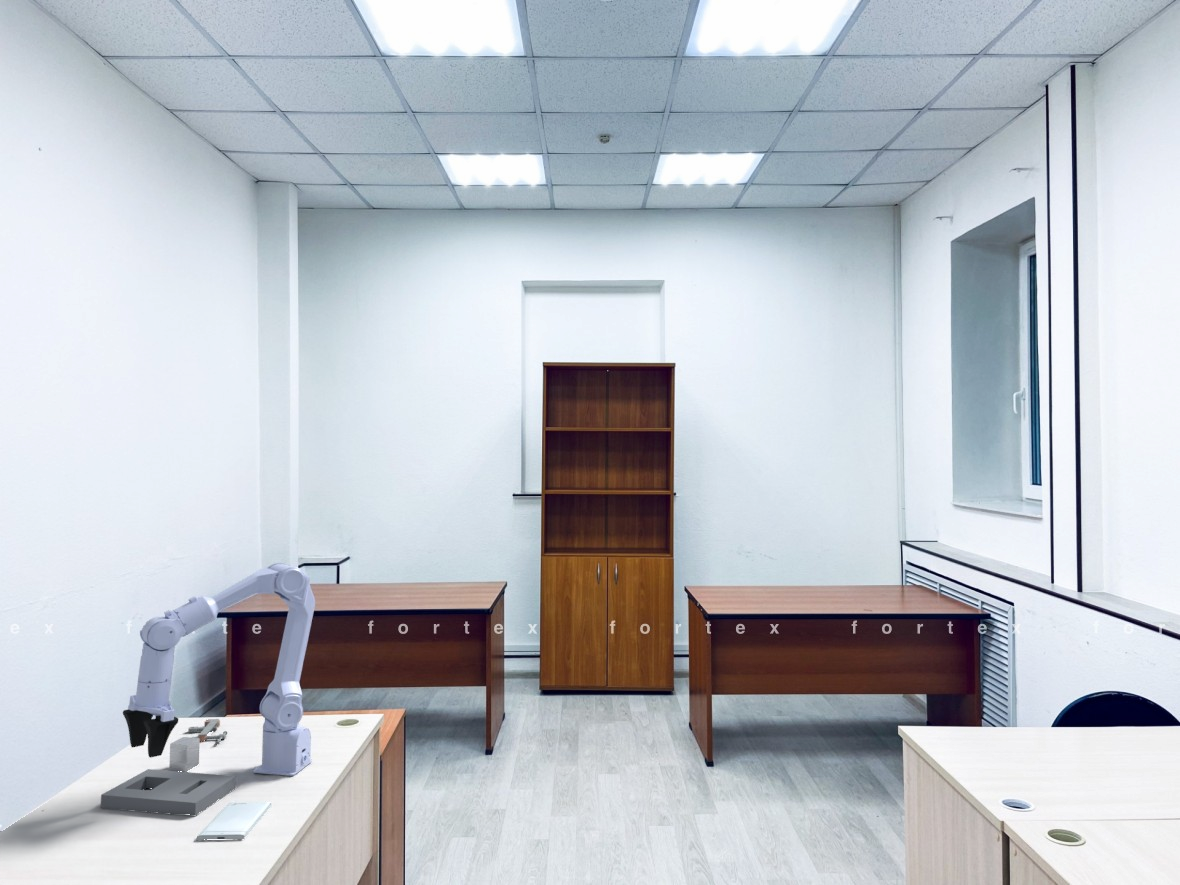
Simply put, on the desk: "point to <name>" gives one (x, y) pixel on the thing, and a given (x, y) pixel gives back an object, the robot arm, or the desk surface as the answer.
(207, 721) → the clamp
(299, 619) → the robot arm
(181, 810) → the plate
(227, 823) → the hard drive
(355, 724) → the desk surface
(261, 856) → the desk surface
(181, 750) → the square bit
